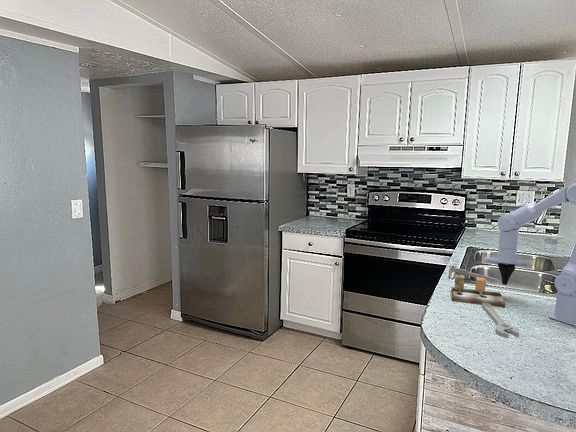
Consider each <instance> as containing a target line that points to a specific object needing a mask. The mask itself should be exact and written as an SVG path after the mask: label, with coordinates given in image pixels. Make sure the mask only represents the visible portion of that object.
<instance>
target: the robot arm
mask: <svg viewBox="0 0 576 432" xmlns="http://www.w3.org/2000/svg"><path fill="white" fill-rule="evenodd" d="M562 203H571V204H572V205H574V206H575V207H576V182H575V183H572V184H570V185H569V186H565V187H562V188H561V189H559V190H557V191H556V192H554V193H552V194H550V195H548V196H547V197H545V198H544V199H541V200H540V201H538V202H537V203H531V202H529V203H526V202H524V203H523V204H521V207H519V208H517V209H515V210H510V211H509V214H502V215H501V216H500V217H498V219H497V227H498V228H499V229H500V230H499V239H498V251H497V252H498V253H497V256H496V257H492V256H491V257H490V256H484V257H483V264H493V265H497V266H498V270H499V273H500V276H501V284H502V286H503V285H504V286H507V285H508V282H509V280H510V277H511V276H512V274H513V273H514V271H515V270H516V267H517V266H518V267H526V268H530V266H531V262H530V260H525V259H517V251H518V250H517V249H518V247H517V246H518V239H519V230H520V229H521V228H522V227H523V226H525V225H526V224H529V223H531V222H533V221H535V220H537V219H538V218H540V217H541V214H542V213H543V212H544V211H547V210H549V209H552V208H554V207H555V206H558V205H561V204H562ZM554 286H555V289H556V297H555V298H556V299H555V305H554V306H555V308H554V313H553V314H551V315H548V318H549V319H553V320H556V321H558V322H562V323H564V324H567V325H568V324H569V325H570V326H573V327H576V242H575V244H574V247H573V249H572V251H571V254H570V257H569V260H568V262H567V264H565V266H564V267H563V268H562V270H561V272H560V274H559V275H558V276H556V278H555V279H554Z"/></svg>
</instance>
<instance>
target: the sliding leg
mask: <svg viewBox="0 0 576 432" xmlns="http://www.w3.org/2000/svg"><path fill="white" fill-rule="evenodd" d="M486 284H487V280H486V279H485V278H481V277H475V289H474V290H476V291H478V292H479V293H480V296H482V297H483V294H482V292H485V291H486Z"/></svg>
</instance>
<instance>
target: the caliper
mask: <svg viewBox="0 0 576 432" xmlns="http://www.w3.org/2000/svg"><path fill="white" fill-rule="evenodd" d="M452 274H453V277H452V279H453V280H455V275H464V278H466V277H468V276H469V277H471V278H472V277H473V278H476V277H481V278H485V279H486V281H488V282H493V283H502V280H499V278H496V277H492V276H487V275H484V274H483V275H482V274H480V273H479V274H478V273H476V272H471V271H468V270H466V269H464V268H459V267H457V265H454V264H452V266H450V267H449V270H448V278H449V279H451V276H452Z"/></svg>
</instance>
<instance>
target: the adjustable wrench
mask: <svg viewBox="0 0 576 432" xmlns="http://www.w3.org/2000/svg"><path fill="white" fill-rule="evenodd" d="M481 307H482V309H483V311H485V312H486V314H487V315H488V316H489V317H490V318H491V320H492V321H493V322H494V323H495V324H496V327H495V334H496V335H498V336H500V337H503V338H505V339H506V338H507V339H508V338H509V335H513V336H514V337H516V338H518V337H519V335H520V334H519V333H520V330H519V329H518V327H517V326H514V325H510V324H508V323H506V322H505V321H504V320H503V318H502V317H501V316H500V315H499V313H498V312H497V311H496V310H495V309H494V306H491V305H490V304H488V303H482V305H481ZM509 333H510V334H509Z"/></svg>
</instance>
